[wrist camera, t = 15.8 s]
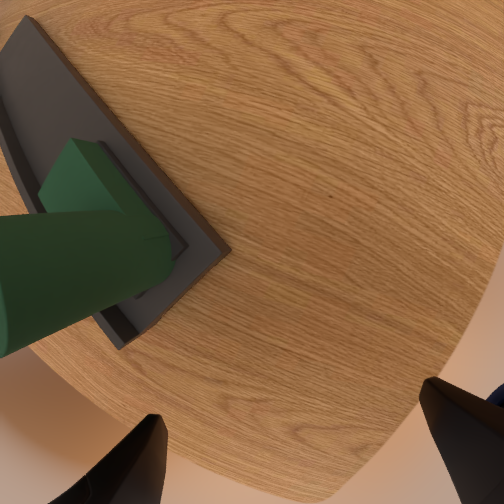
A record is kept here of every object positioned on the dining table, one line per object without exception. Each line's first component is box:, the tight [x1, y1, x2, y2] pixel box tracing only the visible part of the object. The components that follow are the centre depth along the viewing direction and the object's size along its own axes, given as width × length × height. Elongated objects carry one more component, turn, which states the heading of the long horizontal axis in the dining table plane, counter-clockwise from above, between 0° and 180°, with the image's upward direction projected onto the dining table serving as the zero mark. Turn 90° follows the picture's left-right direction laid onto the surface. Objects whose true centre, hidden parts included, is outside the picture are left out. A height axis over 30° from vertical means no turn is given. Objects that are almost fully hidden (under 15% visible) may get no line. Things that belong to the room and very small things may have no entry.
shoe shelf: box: [0, 15, 231, 350], centre depth 20 cm, size 44×10×4 cm, turn 43°
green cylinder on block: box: [0, 138, 189, 358], centre depth 13 cm, size 11×5×12 cm, turn 43°
